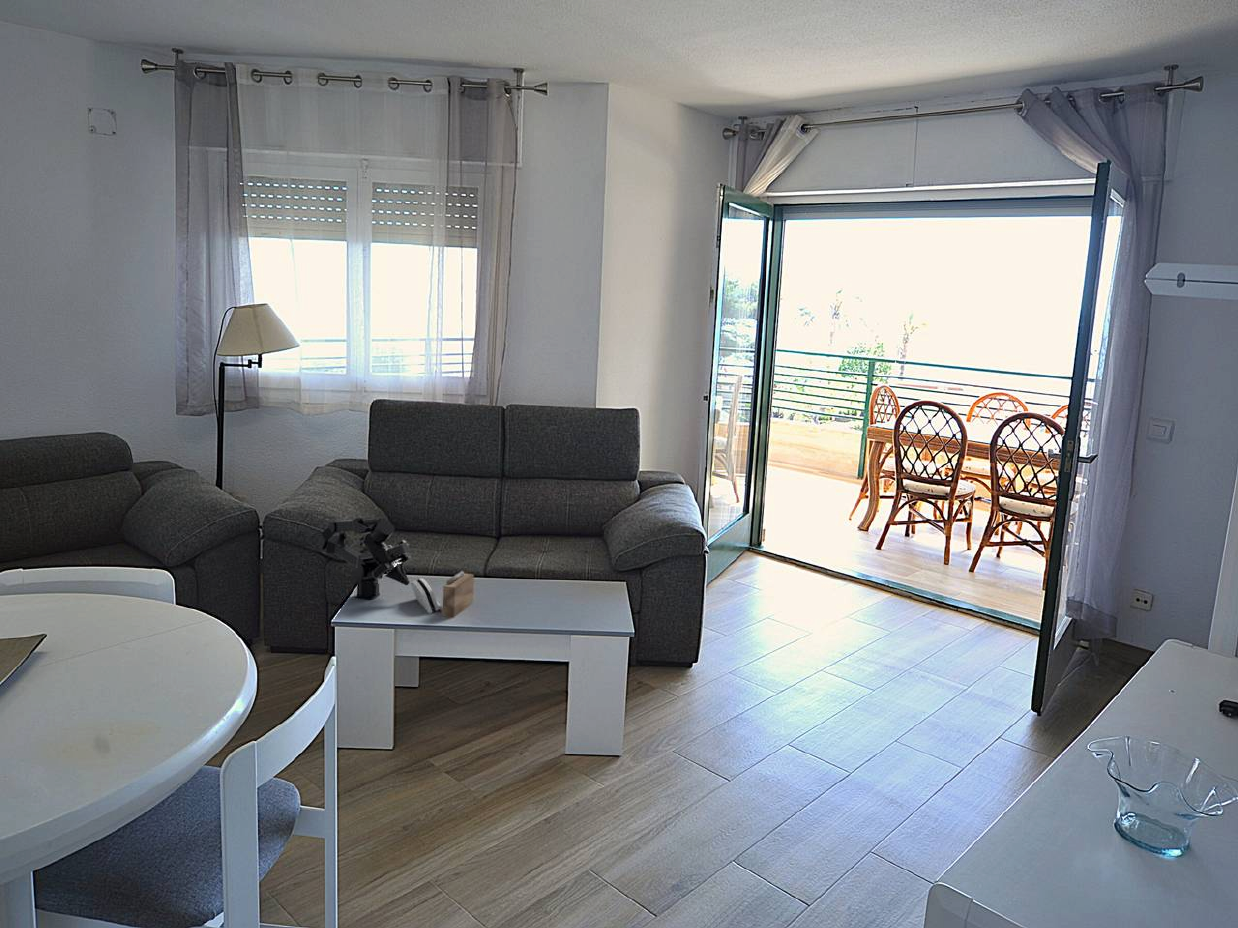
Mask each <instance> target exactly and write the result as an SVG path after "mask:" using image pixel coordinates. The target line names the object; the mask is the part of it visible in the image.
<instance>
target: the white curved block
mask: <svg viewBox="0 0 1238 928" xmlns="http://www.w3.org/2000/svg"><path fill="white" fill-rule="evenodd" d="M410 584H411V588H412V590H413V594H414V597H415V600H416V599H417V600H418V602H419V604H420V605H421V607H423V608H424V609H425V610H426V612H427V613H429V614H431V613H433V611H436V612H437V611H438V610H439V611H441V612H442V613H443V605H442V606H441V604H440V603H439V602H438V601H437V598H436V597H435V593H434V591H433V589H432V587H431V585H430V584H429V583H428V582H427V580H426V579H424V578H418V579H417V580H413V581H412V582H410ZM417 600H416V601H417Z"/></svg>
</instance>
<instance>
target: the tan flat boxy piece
mask: <svg viewBox="0 0 1238 928" xmlns="http://www.w3.org/2000/svg"><path fill="white" fill-rule="evenodd" d="M474 576H475V575H474V574H471V573H465V572H464V571H462V570H461V571H459V572H458V573H457V574H454V576H452V577H450V578H448V580H446V581H445V582H446V584H444V585H443V587H442V588H443V589H442V591H443V592H442V593H443V594H442V608H443V612H442V615H441V616H443V617H450V618H455V617H456V616H458V615H459V614H460V613H461V612H463V611H464V610H465V609H467V608H468V607H469V606H471V605H473V603H474V579H475V578H474Z"/></svg>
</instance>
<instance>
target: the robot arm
mask: <svg viewBox="0 0 1238 928" xmlns="http://www.w3.org/2000/svg"><path fill="white" fill-rule="evenodd" d="M376 517H377V516H375V515H369V516H362V517H361V516H360V517H355V518H352V519H350V520H349V519H348V520H346V519H345V520H344V519H339V520H332V521H330V522H329V524H328V527H326V528H325V529H324V531H322V532H321V534H320V535H319V539H318V541H317V547H318V549H319V550H320V552H322V553H323V554H326V555H327V554H330V555H331V554H332V555H335V556H337V557H339V558H340V559H343V560H344V561H346V562H347V563H348V564H350V565H351V566H353V567H355V569H354V571H353V572H352V579H353V580H354V581H356V595H354V598H355V599H362V600H374V599H375V598H377V597H379V596H380V595H381V593H380V583H379V580H380V579H383V576H384V577H385V578H390V579H391V580H394V581H397V582H398V583H400V584H403V585H405V586H409V584H410V580H409V577H408V576H407V573H406V571H405V570H406V569H405V566H406V565H405V564H406V562H408V560H410V559H411V558H412V554H411V553H410V543H408V541H406V540H405V539H402V540H400V541H398V544H397V545H395V546H392V545H391V544H388V545H387V543H386V542H387V541H388V539H389V538H390V537H391V536H392V535H393V534H394V533H395V525H394V524H393V523H391V521H389V520H387V519H386V517H379V518H378V519H377V518H376ZM346 532H353V533H354V534H357V535H364V536H362V537H360V538H359V547H361V548H362V547H363V546H364V547H365V548H366V549H367V551H369V553H365V554H363V553H361V552H360V551H359V550H357V549H355V548H353V547H351V546H350V545H348V544H346V541H347V538H348V537H347V534H346ZM335 533H336V534H335ZM338 533H339V534H338ZM385 572H386V574H385V575H384V573H385Z"/></svg>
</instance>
